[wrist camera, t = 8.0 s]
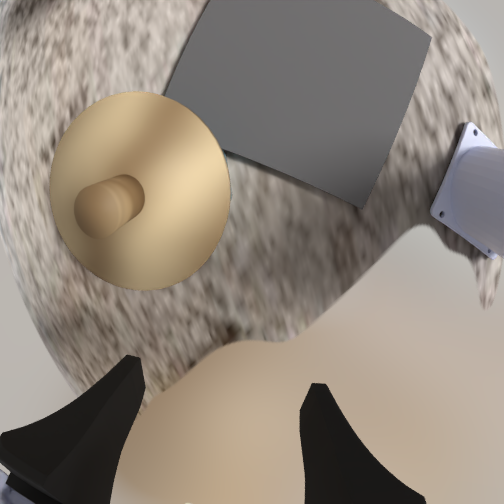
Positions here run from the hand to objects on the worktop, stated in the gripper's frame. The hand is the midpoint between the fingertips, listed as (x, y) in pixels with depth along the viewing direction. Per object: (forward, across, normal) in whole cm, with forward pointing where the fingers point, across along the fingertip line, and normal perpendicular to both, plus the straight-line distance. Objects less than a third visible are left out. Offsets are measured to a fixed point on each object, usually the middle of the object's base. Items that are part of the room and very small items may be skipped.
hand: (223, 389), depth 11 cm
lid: (+6, +6, -6) cm, 11 cm away
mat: (+10, -2, -15) cm, 18 cm away
